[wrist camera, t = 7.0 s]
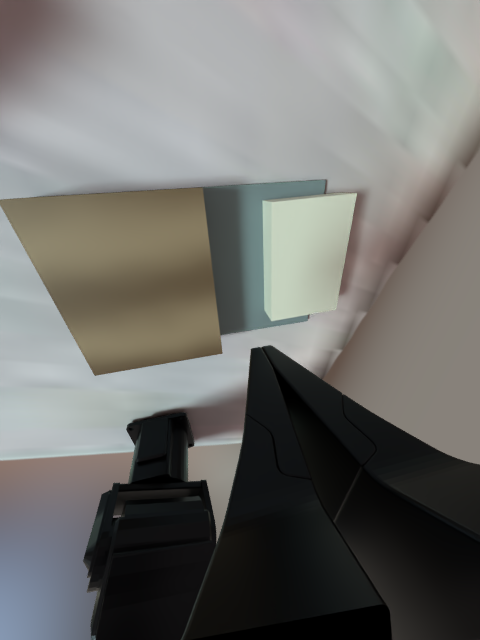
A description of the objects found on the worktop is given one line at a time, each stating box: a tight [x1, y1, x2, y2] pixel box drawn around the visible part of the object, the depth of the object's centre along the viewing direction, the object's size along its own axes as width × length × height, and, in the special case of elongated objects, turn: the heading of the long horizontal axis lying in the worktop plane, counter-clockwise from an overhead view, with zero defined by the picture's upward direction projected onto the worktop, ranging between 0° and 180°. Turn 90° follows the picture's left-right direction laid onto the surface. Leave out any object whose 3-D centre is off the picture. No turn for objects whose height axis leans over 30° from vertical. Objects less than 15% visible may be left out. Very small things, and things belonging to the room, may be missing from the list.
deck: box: [0, 187, 222, 376], centre depth 16 cm, size 12×10×3 cm
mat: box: [202, 180, 326, 335], centre depth 18 cm, size 12×9×1 cm
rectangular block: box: [263, 193, 357, 321], centre depth 18 cm, size 9×6×2 cm, turn 4°
